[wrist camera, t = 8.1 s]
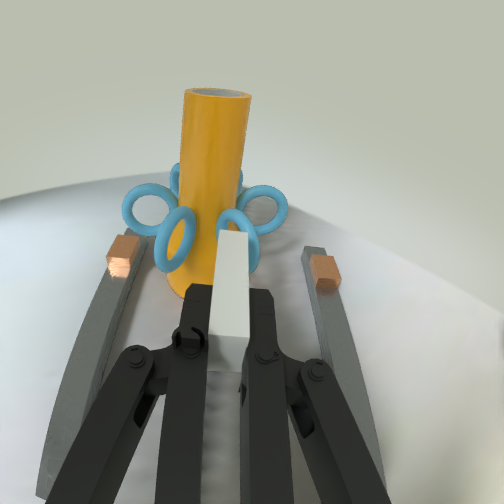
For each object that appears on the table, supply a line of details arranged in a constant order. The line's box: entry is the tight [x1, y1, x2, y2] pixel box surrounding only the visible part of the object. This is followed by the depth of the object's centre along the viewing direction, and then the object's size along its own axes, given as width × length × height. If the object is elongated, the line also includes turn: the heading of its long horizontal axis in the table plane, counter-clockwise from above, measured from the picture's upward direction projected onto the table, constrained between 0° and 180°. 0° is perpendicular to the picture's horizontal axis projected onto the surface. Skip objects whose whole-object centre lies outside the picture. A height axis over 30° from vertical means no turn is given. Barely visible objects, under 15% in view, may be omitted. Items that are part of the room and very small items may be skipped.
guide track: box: [36, 228, 387, 500], centre depth 18 cm, size 24×19×2 cm
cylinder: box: [122, 88, 288, 298], centre depth 20 cm, size 12×10×15 cm
